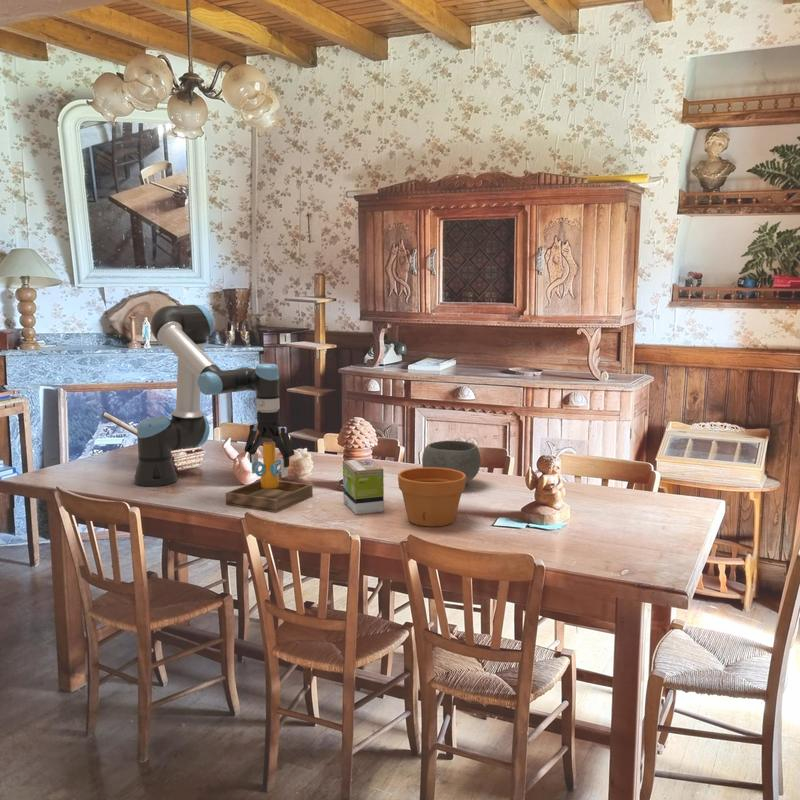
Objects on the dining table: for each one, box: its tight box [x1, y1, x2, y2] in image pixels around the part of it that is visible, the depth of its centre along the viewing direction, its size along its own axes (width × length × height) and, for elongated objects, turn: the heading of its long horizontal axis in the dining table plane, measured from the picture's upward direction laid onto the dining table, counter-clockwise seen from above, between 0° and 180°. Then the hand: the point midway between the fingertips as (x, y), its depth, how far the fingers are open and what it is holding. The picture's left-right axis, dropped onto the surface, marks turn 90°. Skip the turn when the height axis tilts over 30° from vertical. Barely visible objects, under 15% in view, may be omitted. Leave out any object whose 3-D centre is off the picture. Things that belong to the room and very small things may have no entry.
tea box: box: [342, 458, 385, 515], centre depth 274 cm, size 15×10×15 cm, turn 19°
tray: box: [225, 479, 314, 513], centre depth 283 cm, size 20×22×4 cm
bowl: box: [421, 440, 482, 485], centre depth 302 cm, size 21×21×15 cm
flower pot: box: [397, 467, 466, 528], centre depth 260 cm, size 21×21×15 cm
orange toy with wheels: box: [251, 441, 281, 489], centre depth 281 cm, size 12×10×15 cm
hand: (269, 474), depth 282 cm, fingers closed on orange toy with wheels, 11 cm apart
